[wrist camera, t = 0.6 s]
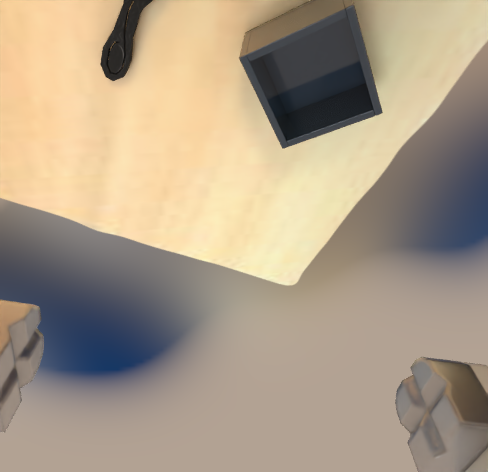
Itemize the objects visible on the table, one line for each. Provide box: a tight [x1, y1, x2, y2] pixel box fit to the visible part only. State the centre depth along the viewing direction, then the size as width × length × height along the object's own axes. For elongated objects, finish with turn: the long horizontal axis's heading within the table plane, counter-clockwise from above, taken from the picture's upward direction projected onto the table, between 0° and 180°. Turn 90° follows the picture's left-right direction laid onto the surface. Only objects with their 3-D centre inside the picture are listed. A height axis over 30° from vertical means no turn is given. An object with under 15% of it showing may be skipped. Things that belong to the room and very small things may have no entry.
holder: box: [239, 0, 382, 148], centre depth 44 cm, size 12×12×7 cm
